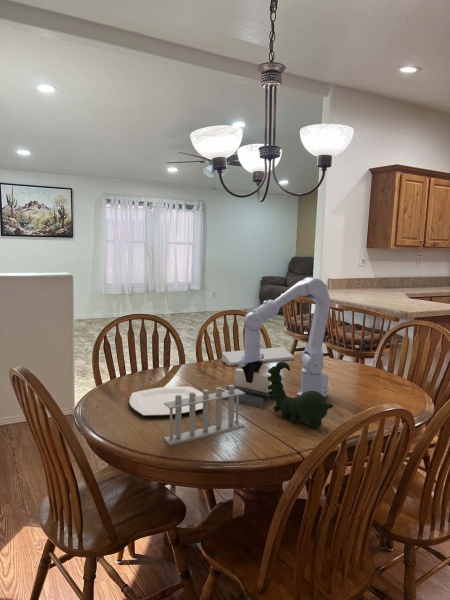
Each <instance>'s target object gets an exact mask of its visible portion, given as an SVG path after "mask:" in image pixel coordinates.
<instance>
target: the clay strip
mask: <svg viewBox="0 0 450 600" xmlns="http://www.w3.org/2000/svg"><path fill="white" fill-rule="evenodd" d="M270 376H271V374H267V373H264V372H263V373H262V372H259V373H258V372H254V374H253V381H252V383H248V382H246V378H245V374H244V371H243V369H242V368H239V367H238V368H235V369H234V382H233V385H236V386H240V387H244V388H248V389H252V390H256V391H261V392H265V393H268V392H270V390H268V386H270V385H271V381H268V377H270Z"/></svg>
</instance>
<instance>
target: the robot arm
mask: <svg viewBox="0 0 450 600" xmlns="http://www.w3.org/2000/svg"><path fill="white" fill-rule="evenodd" d="M304 296H309V297H310V298H311V299H312V301H313V302H314V304H315V307H314V311H313V316H312V321H311V325H310V330H309V336H308V342H307V344H306V346H305V347H304V351H303V353H302V354H301V355H300V364H301V365H302V368H301V374H300V375H301V377H300V378H301V379H300V391H299V392H297V393H296V396H298V397H300V395H301V394H303V393H304V392H307V391H317V392H319V393H321V394H322V395H323V396H324V397H325V398H326V397H327V396H329V393H328V390H329V388H328V387H329V377H328V374H326V373H323V372H322V371H323V369H324V366H325V364H324V353H323V343H324V338H325V334H326V328H327V324H328V323H327V322H328V318H329V314H330V309H331V303H332V302H331V301H332V300H331V297H330V295H329V291H328V286H327V284H326V283H325V282H324V281H323V280H321V278H315V277H313V276H307V277H305V278H303V279H302V280H299V281H297V282H296V283H295V284H294V285H292V286H291V287H290V288H288V289H287V290H286V291H285V292H284V293H282V294H281V295H279V296H278V297H277V298H275V299H274V300H273V299H268V300H264V301H263V303H262V304H261V305H260V306H258V307H257V308H254V309H252V311H249V312H248V313H246V315H245V316H244V318H243V324H244V347H243V348H244V355H243V356H242V359H241V360H240V361H239V365H238V367H241V369H243V371H244V374H245V378H246V382H248V383H252V381H253V374H254V372H258V373H260V369H261V367H262V365H263V363H264V362H262V361H259V360H260V359H264V354H263V353H260V349H261V328H262V327H263V324H264V323H266V322H267V321H269V320H270V319H272V318H273V317H275V316H276V315H277V314H279V311H280V308H281V307H284V306H285V305H286V304H288V303H289V302H291V301H292V300H294V299H295V298H297V297H304Z"/></svg>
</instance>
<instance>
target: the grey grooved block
mask: <svg viewBox="0 0 450 600" xmlns="http://www.w3.org/2000/svg"><path fill="white" fill-rule="evenodd" d="M229 385H230V384H228V385H226V389H225V388H222V392H223V391H229V388H228V387H229ZM233 385H234V384H233ZM270 386H271V384H270ZM234 387H235V388H234V389H239V390H241V391H242V392H244V393H245V394H243V395H239V404H240V403H241V404H243V405H248V406H252V407H256V408H259V409H262V408H264V407H265V406H267V405H269V404H270V403H273V402H274V400H270V399H269V395H272V390H270V392H268V393H265V392H261V391H256V390H252V389H248V388H244V387H240V386H236V385H234ZM228 398H229V397H228ZM228 398H224V400H228ZM234 402H236V396H234Z"/></svg>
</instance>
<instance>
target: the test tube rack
mask: <svg viewBox="0 0 450 600" xmlns="http://www.w3.org/2000/svg"><path fill="white" fill-rule="evenodd" d="M228 385H229V387H228V388H229V391H223V392H222V389H223V388H222V387H220V386H218V387H216V389H215V392H214V393H210V391H209V389H203V390H202V393H203V395H202V396H197V397H195V395H196V394H195V392H190V394H189V398H187V399H182V397H181V395H176V397H175V401H171V402H166V403H164V405H165V406H167V407H168V408H169V409H170V415H169V435H168V436H164V437H163V441H165V443H166V444H167V445H168V446H174V445H179V444H182V443H186V442H191V441H195V440H198V439H203V438H206V437H211V436H215V435H220V434H223V433H227V432H231V431H234V430H239V429H242V428H245V426H246V425H245V424H243V422H241V421H239V407H240V406H239V404H240V402H239V395H243V394H245V393H244V392H242V391H241V390H239V389H234V388H235V387H234V384H228ZM234 396H236V401H234ZM228 397H229V398H228ZM225 398H228V399H227V400H228V404H227V405H228V408H227V411H228V412H227V422H223V423H222V415H223V414H222V411H223V410H222V406H223V405H222V404H223V401H222V400H223V399H225ZM212 401H215V424H214V425H210V426H209V416H210V412H209V411H210V407H209V405H210V402H212ZM198 403H203V409H202V428H198V429H197V428H196V411H195V404H198ZM188 405H189V413H188V416H189V418H188V422H189V423H188V424H189V427H188V429H189V430H188V431H185V432H182V407H183V406H188ZM173 408H175V415H173ZM173 416H174V417H175V418H174V417H173ZM234 418H235V419H234ZM174 420H175V423H173V421H174ZM174 424H175V425H174ZM174 426H175V428H174ZM173 428H174V429H175V434H173V433H174V429H173Z"/></svg>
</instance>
